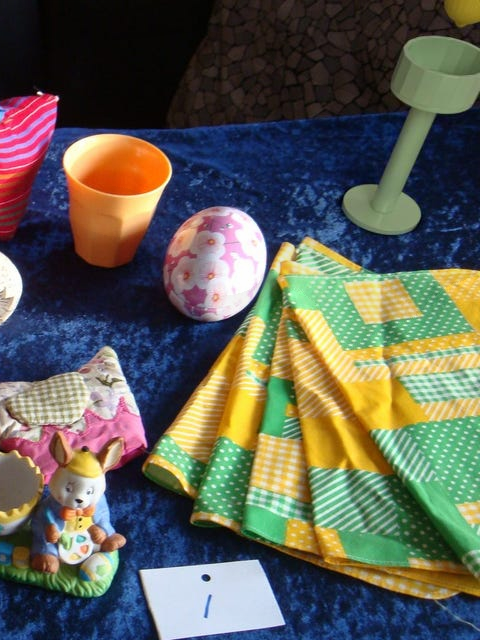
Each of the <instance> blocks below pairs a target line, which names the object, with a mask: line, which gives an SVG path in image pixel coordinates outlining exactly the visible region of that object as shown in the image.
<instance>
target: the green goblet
mask: <svg viewBox="0 0 480 640" xmlns="http://www.w3.org/2000/svg"><path fill="white" fill-rule="evenodd" d="M389 87H390V91H391V92H392V94H393V95H394V96H395V97H396V98H397V99H398V100H400V101H401V102H402V103H404V104H406V105H408V106H409V107H410V109H409V111H408V114H407V116H406V118H405V121H404V123H403V125H402V128H401V130H400V132H399V135H398V136H397V139H396V141H395V144H394V147H393V149H392V151H391V154H390V156H389V159H388V161H387V162H386V163H387V164H386V166H385V167H384V170H383V172H382V175H381V177H380V179H379V183H378V184H373V183H372V184H370V183H369V184H368V183H367V184H360V185H356V186H353V187H352V188H350V189H349V190H347V192H346V193H345V194H344V196H343V198H342V201H341V208H342V211H343V213H344V215H345V216H346V217H347V218H348V219H349V220H350V222H352V223H353V224H355V225H356V226H358V227H360V228H362V229H364V230H366V231H369V232H372V233H376V234H379V235H388V236H389V235H390V236H393V235H394V236H395V235H402V234H403V235H404V234H407V233H409V232H411V231H413V230H414V229H415V228H416V227H417V226H418V224H419V222H420V220H421V217H422V213H421V209H420V207H419V204H417V202H416V201H415V200H414V199H413V198H412V197H410V196H409V195H408V194H406V193H404V192H403V190H404V188H405V185H406V183H407V180H408V178H409V177H410V173H411V172H412V169H413V167H414V165H415V163H416V161H417V159H418V156H419V154H420V152H421V149H423V148H422V147H423V145H424V143H425V141H426V139H427V136H428V134H429V132H430V130H431V128H432V125H433V123H434V121H435V119H436V117H437V114H439V115H440V114H442V115H450V114H459V113H463V112H465V111H467V110H470V109H471V108H472V107H473V106H474V104H475V102H476V101H477V99H478V97H479V95H480V47H478V46H476V45H474V44H472V43H470V42H468V41H464V40H461V39H457V38H454V37H451V36H450V37H448V36H443V35H424V36H422V35H421V36H418V37H414V38H412V39H409V40H408V41H407V42H406V43H405V44H404V46H403V47H402V50H401V52H400V55H399V57H398V60H397V63H396V64H395V67H394V70H393V73H392V75H391V79H390V83H389Z"/></svg>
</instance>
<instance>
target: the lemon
mask: <svg viewBox="0 0 480 640" xmlns="http://www.w3.org/2000/svg"><path fill="white" fill-rule="evenodd" d="M443 2H444V9H445V12H446V14H447V16H448V17H449V18H450V19H451V20H452V21H453V22H454V23H455V25H456V27H458V28H464V27H466V26H468V25H473V24H476V23H479V22H480V0H444V1H443Z"/></svg>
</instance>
